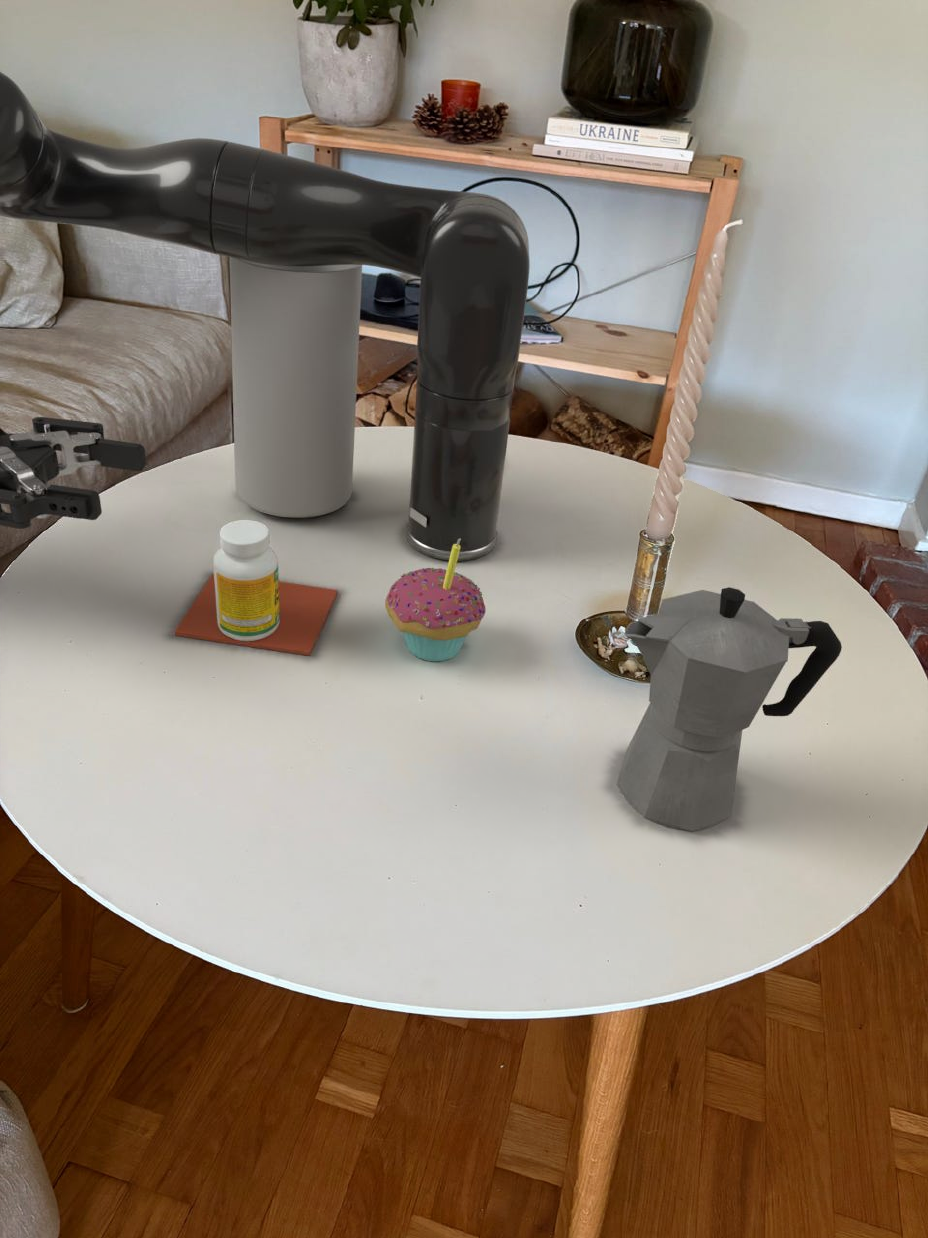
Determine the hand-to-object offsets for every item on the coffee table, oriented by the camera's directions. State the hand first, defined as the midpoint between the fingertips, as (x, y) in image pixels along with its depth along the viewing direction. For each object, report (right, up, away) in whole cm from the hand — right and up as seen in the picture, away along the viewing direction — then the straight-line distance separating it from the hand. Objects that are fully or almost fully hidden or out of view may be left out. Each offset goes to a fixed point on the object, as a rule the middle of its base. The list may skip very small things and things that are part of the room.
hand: (122, 481), depth 76 cm
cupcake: (+24, -14, +9) cm, 29 cm away
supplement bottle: (+8, -12, +9) cm, 17 cm away
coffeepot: (+44, -24, -3) cm, 50 cm away
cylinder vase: (+9, +2, +29) cm, 30 cm away
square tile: (+9, -10, +11) cm, 17 cm away
